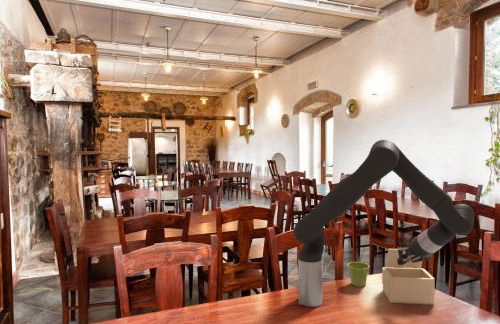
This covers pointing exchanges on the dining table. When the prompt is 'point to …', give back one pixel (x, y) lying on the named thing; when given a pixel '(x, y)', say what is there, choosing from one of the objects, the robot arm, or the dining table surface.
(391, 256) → the back flap
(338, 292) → the dining table surface
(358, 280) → the plant pot
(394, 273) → the carton
